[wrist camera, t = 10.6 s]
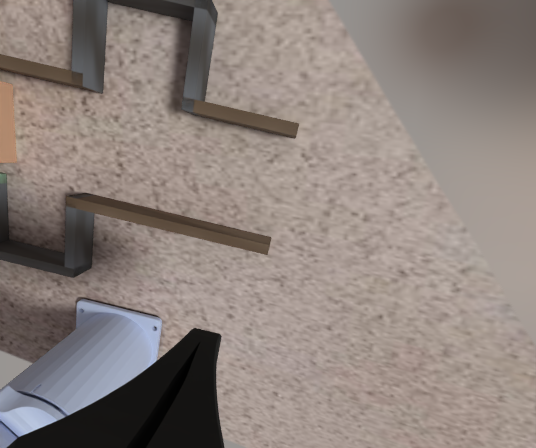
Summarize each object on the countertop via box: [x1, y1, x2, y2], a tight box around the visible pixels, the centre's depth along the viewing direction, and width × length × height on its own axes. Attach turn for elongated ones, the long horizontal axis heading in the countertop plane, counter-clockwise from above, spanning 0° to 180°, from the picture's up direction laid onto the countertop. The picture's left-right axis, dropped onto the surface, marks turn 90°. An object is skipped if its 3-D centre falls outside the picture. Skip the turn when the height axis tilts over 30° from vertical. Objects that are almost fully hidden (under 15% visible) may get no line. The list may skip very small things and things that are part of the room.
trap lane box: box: [0, 0, 299, 278], centre depth 19 cm, size 22×30×2 cm
